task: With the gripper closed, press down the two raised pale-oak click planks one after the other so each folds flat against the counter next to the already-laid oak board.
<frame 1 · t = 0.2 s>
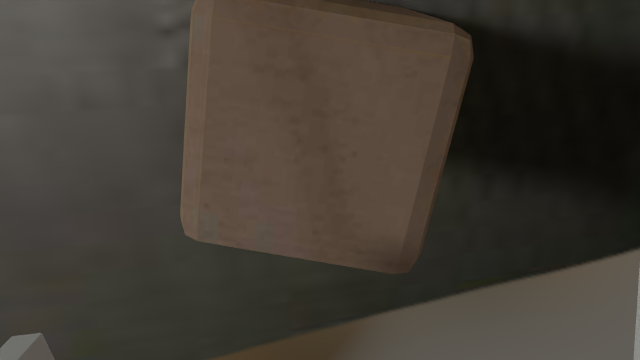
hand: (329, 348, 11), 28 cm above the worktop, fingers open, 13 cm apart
wooden block: (332, 67, 36), on the worktop
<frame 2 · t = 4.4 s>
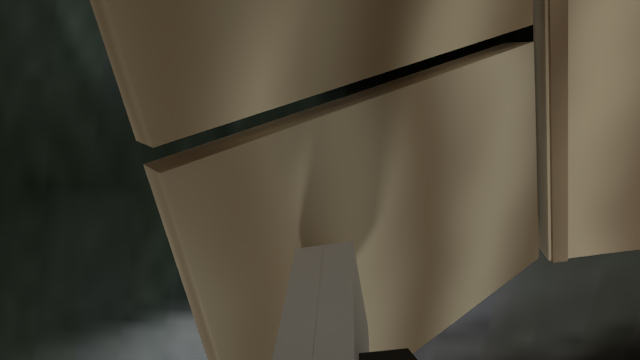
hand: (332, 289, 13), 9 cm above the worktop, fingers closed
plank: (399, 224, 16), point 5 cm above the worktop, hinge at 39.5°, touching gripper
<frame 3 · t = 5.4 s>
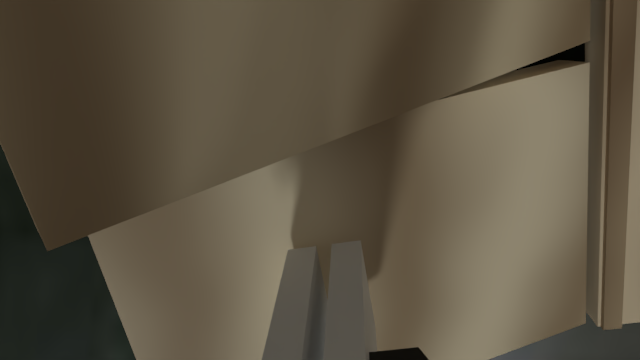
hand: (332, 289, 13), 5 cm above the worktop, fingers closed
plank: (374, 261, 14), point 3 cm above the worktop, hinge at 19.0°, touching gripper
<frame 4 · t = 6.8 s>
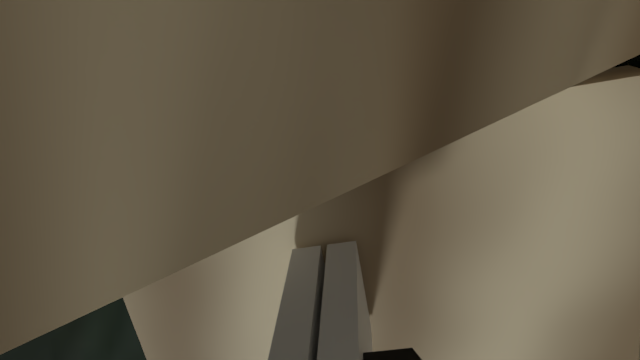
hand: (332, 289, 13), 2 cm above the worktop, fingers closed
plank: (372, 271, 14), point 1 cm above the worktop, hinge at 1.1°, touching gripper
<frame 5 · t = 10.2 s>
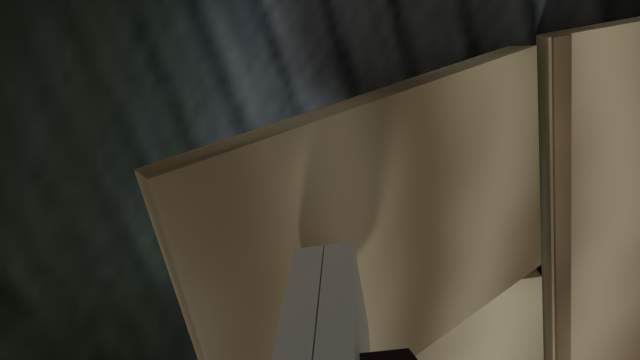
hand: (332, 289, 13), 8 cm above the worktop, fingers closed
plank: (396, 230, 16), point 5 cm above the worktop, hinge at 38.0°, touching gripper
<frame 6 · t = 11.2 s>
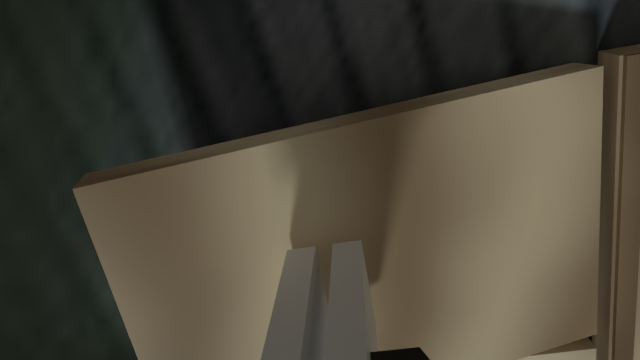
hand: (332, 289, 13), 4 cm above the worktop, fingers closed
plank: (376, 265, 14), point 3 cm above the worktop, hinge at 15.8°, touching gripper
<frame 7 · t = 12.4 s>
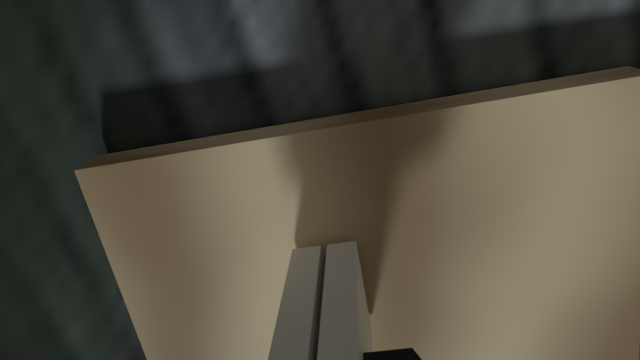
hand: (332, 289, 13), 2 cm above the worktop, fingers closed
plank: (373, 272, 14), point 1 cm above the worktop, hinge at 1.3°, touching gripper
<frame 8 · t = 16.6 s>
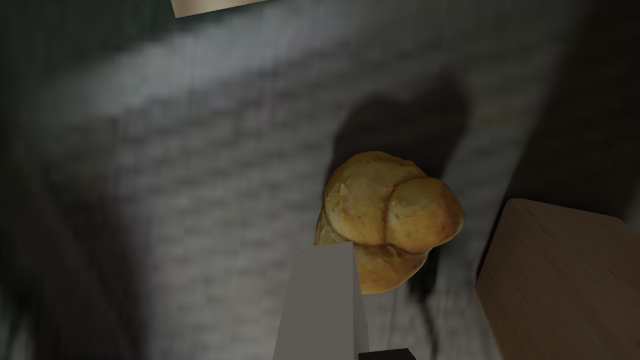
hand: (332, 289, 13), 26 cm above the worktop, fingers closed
bread roll: (370, 211, 41), on the worktop
wooden block: (541, 253, 42), on the worktop
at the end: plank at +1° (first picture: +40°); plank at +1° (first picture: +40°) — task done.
